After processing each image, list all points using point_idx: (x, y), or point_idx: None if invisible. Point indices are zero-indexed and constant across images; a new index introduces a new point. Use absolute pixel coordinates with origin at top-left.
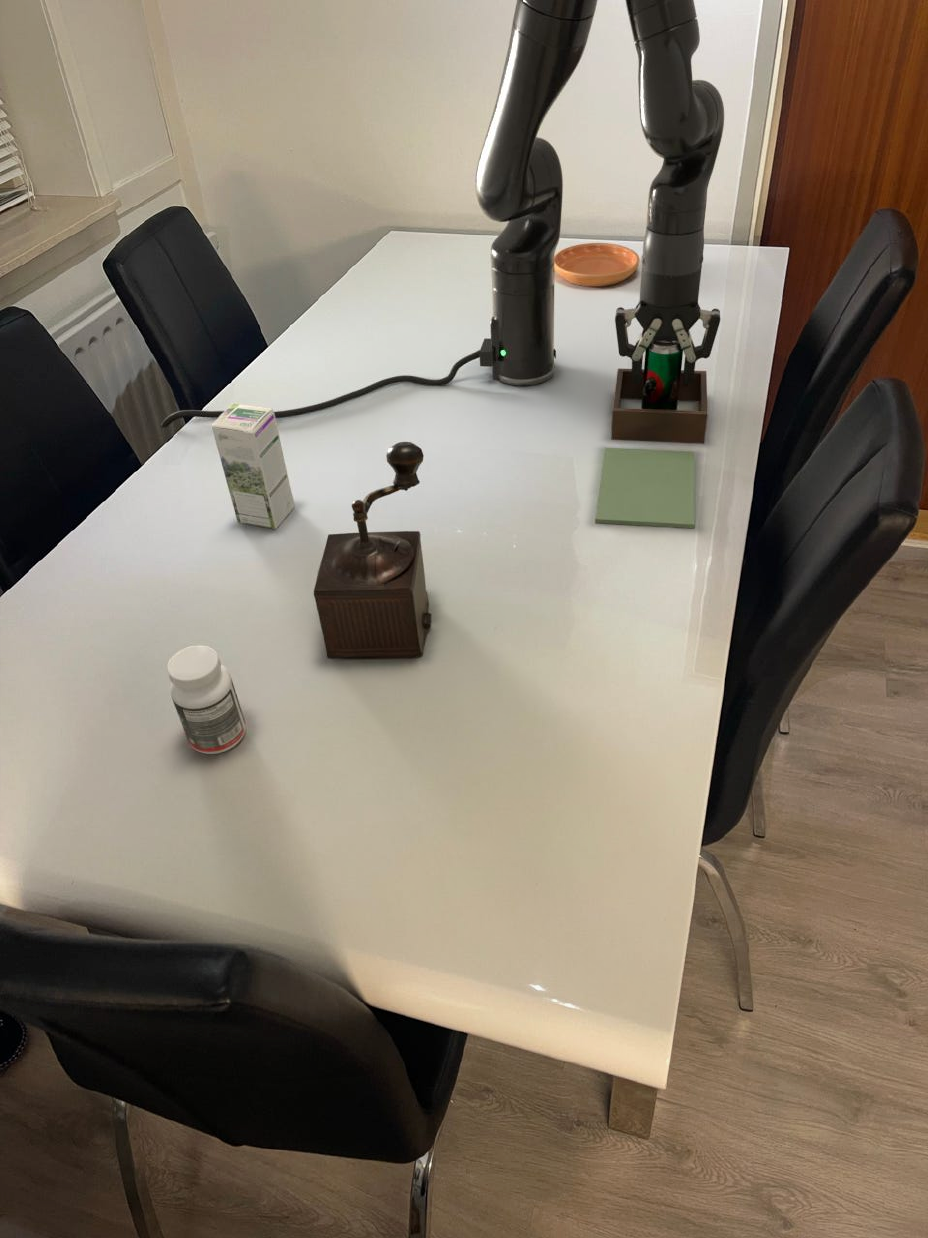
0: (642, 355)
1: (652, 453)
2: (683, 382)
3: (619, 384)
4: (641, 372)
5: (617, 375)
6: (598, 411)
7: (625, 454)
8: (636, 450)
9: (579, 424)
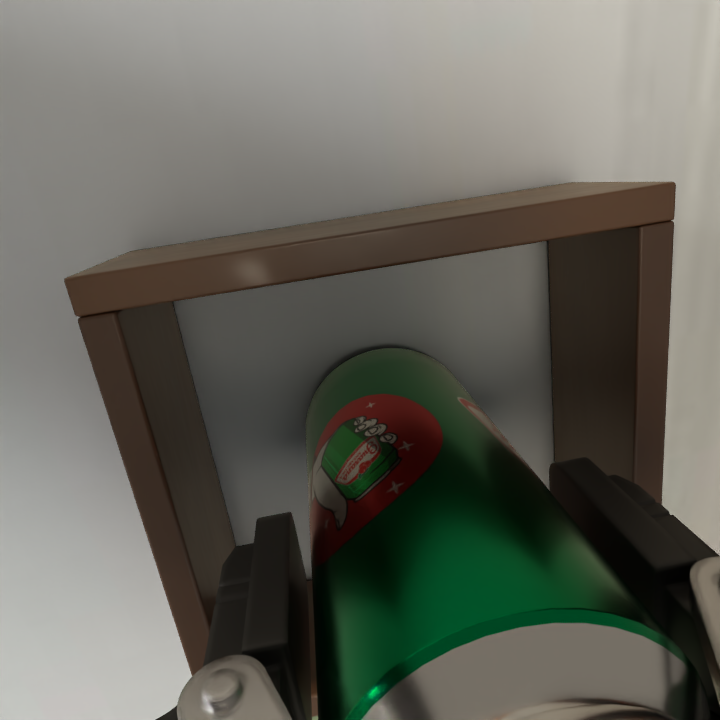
0: (287, 654)
1: None
2: None
3: (156, 494)
4: (309, 663)
5: (100, 385)
6: (95, 422)
7: (316, 718)
8: None
9: (56, 547)
